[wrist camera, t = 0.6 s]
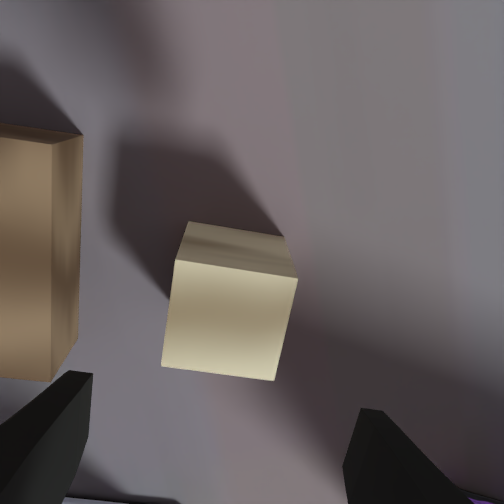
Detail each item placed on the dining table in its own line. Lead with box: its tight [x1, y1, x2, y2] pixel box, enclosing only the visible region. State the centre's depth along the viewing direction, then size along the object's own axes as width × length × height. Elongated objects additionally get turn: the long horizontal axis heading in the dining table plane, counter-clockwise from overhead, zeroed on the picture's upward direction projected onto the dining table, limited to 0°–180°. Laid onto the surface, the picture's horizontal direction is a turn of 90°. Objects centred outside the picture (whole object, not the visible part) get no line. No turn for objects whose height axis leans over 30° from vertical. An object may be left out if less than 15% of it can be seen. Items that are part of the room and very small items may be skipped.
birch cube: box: [161, 221, 298, 381], centre depth 19 cm, size 4×4×5 cm
